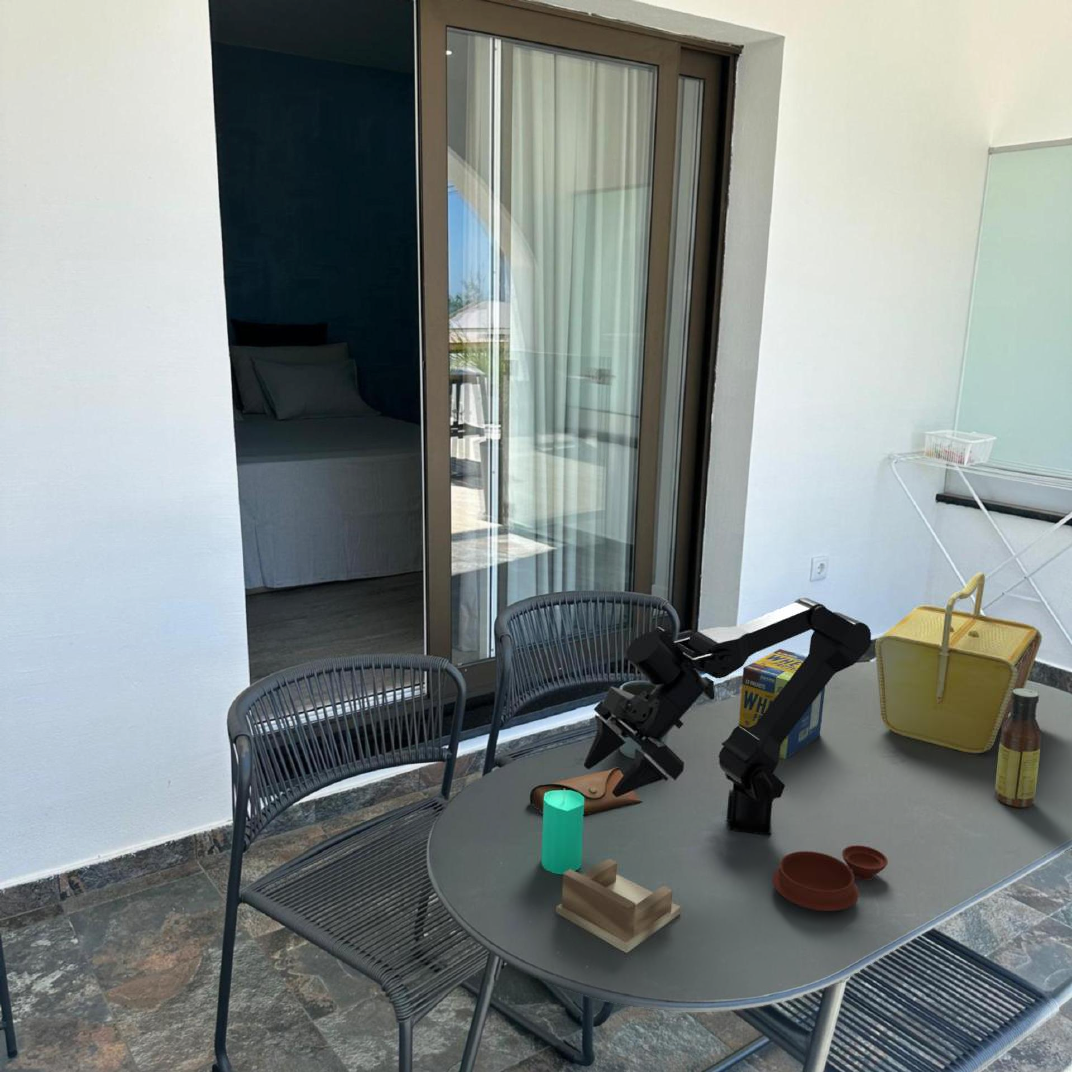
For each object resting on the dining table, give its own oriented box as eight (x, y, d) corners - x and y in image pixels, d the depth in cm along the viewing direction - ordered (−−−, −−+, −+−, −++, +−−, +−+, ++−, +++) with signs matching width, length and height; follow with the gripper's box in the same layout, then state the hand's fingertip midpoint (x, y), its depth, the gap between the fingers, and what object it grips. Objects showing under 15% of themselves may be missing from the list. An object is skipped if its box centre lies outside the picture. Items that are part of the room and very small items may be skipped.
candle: (535, 868, 142) (537, 793, 139) (549, 848, 147) (552, 776, 145) (573, 878, 140) (576, 802, 137) (587, 857, 145) (590, 784, 142)
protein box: (735, 743, 186) (742, 667, 183) (773, 719, 198) (779, 647, 195) (786, 760, 180) (793, 681, 176) (821, 735, 191) (829, 660, 188)
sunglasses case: (555, 825, 154) (545, 783, 155) (535, 829, 160) (526, 788, 161) (646, 801, 163) (636, 761, 164) (624, 804, 169) (615, 766, 170)
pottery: (753, 890, 138) (756, 862, 137) (843, 851, 150) (846, 825, 149) (819, 933, 129) (823, 904, 128) (910, 888, 140) (914, 860, 139)
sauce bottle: (1032, 797, 169) (1049, 689, 164) (1034, 812, 163) (1051, 702, 159) (991, 788, 171) (1007, 682, 167) (991, 803, 166) (1007, 694, 161)
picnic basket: (904, 688, 218) (920, 559, 211) (1030, 718, 203) (1052, 580, 196) (863, 730, 194) (879, 586, 188) (1002, 767, 180) (1025, 612, 173)
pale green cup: (615, 737, 187) (618, 679, 184) (667, 739, 187) (671, 681, 184) (617, 761, 177) (621, 699, 174) (673, 763, 177) (677, 702, 174)
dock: (611, 877, 140) (613, 840, 139) (680, 913, 132) (683, 873, 131) (556, 912, 131) (557, 873, 130) (626, 953, 124) (629, 911, 122)
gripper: (608, 649, 150) (540, 725, 148) (671, 693, 133) (595, 779, 131) (649, 691, 155) (584, 765, 153) (715, 738, 138) (642, 822, 136)
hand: (599, 780), depth 143 cm, fingers open, 9 cm apart
